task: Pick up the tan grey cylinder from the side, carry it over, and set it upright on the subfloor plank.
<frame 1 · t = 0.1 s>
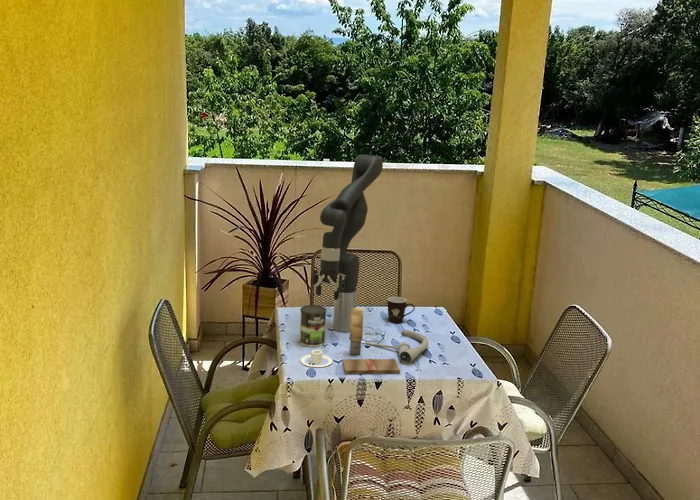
hand: (327, 297, 271), 17 cm above the table, tool pointing down, fingers open, 8 cm apart
coffee can: (312, 342, 269), on the table
faucet: (397, 347, 269), on the table
coffee mug: (398, 322, 297), on the table
tan grey cylinder: (355, 353, 259), on the table
candle holder: (316, 362, 251), on the table
subfloor plank: (370, 368, 247), on the table
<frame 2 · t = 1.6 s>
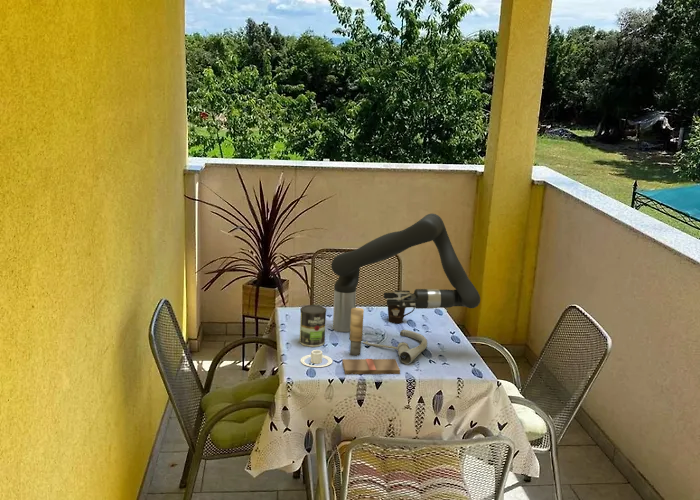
hand: (385, 298, 255), 23 cm above the table, tool horizontal, fingers open, 8 cm apart
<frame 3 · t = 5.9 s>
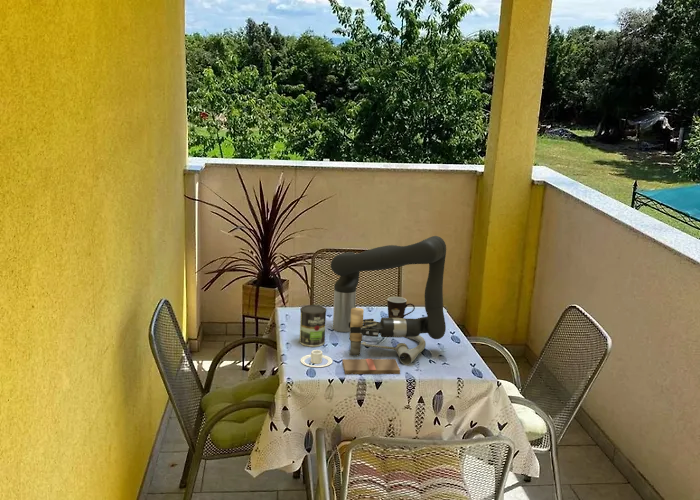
hand: (349, 327, 256), 11 cm above the table, tool horizontal, fingers closed on tan grey cylinder, 4 cm apart
faucet: (395, 348, 269), on the table
tan grey cylinder: (355, 353, 259), on the table, touching gripper
everything else where it was.
when the fingers open (14 cm above the table, at t = 10.6 s): tan grey cylinder drops 1 cm, resting on subfloor plank.
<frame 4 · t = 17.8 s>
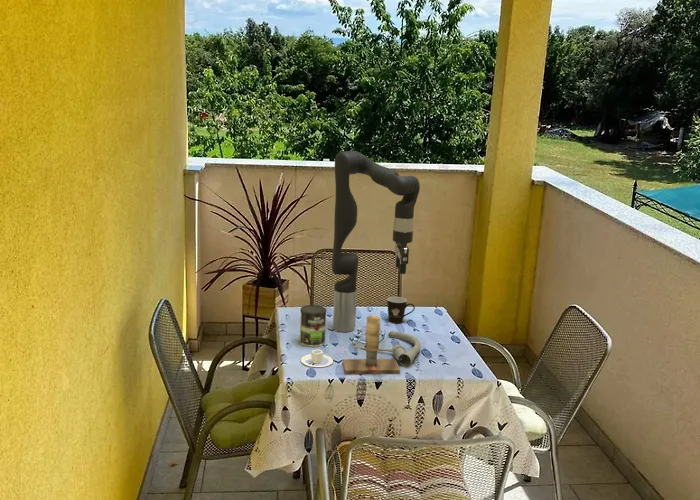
hand: (400, 270, 256), 33 cm above the table, tool pointing down, fingers open, 8 cm apart
faucet: (389, 350, 267), on the table
tan grey cylinder: (371, 364, 246), point 2 cm above the table, touching subfloor plank
everything else where it was.
at the end: tan grey cylinder 0.1 cm off-centre on the subfloor plank, point 1.7 cm above the subfloor plank's base; tan grey cylinder tilted 0°; the gripper is holding nothing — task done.
